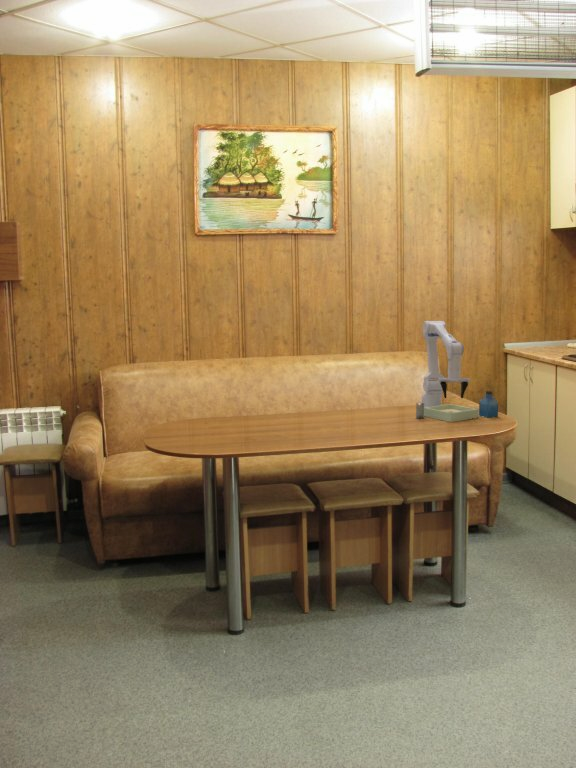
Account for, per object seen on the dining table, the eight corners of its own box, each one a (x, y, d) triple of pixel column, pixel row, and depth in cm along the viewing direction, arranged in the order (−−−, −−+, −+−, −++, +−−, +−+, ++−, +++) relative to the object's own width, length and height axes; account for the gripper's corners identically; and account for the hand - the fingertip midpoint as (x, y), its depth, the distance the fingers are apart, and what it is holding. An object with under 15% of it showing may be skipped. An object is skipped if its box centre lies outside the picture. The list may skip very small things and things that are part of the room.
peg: (414, 418, 377) (414, 403, 376) (420, 417, 379) (420, 402, 378) (419, 419, 374) (420, 404, 373) (425, 418, 376) (425, 403, 375)
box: (423, 416, 381) (423, 407, 381) (449, 412, 392) (450, 403, 391) (451, 422, 367) (451, 413, 366) (478, 417, 377) (478, 409, 376)
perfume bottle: (478, 415, 382) (479, 390, 381) (489, 414, 385) (490, 389, 383) (487, 417, 377) (488, 392, 375) (497, 416, 379) (498, 391, 378)
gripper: (440, 369, 367) (439, 399, 369) (472, 370, 366) (471, 399, 368) (437, 367, 374) (436, 396, 376) (469, 368, 373) (468, 396, 375)
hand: (453, 397), depth 373 cm, fingers open, 7 cm apart
